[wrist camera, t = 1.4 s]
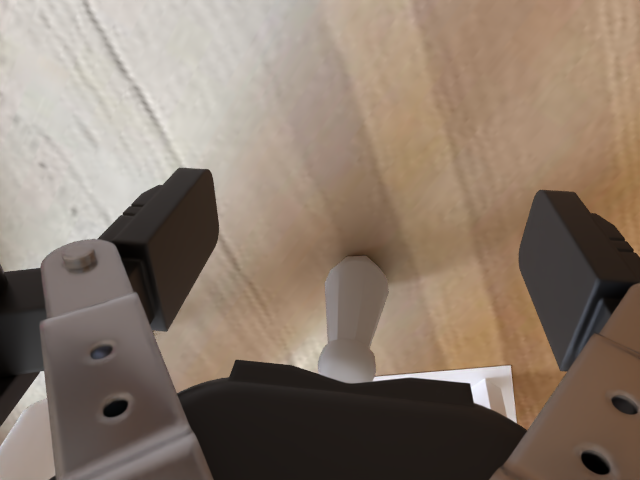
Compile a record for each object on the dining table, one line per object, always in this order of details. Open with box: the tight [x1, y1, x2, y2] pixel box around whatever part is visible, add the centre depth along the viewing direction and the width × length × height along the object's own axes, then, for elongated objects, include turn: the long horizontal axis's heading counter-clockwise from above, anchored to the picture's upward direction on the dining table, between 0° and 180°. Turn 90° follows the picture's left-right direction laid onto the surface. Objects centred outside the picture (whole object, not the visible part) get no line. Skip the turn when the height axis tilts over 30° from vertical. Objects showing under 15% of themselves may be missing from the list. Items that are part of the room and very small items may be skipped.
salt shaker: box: [318, 255, 389, 383], centre depth 39 cm, size 6×6×13 cm
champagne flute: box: [0, 331, 153, 480], centre depth 44 cm, size 7×7×24 cm
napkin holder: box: [373, 365, 517, 423], centre depth 51 cm, size 15×11×6 cm
